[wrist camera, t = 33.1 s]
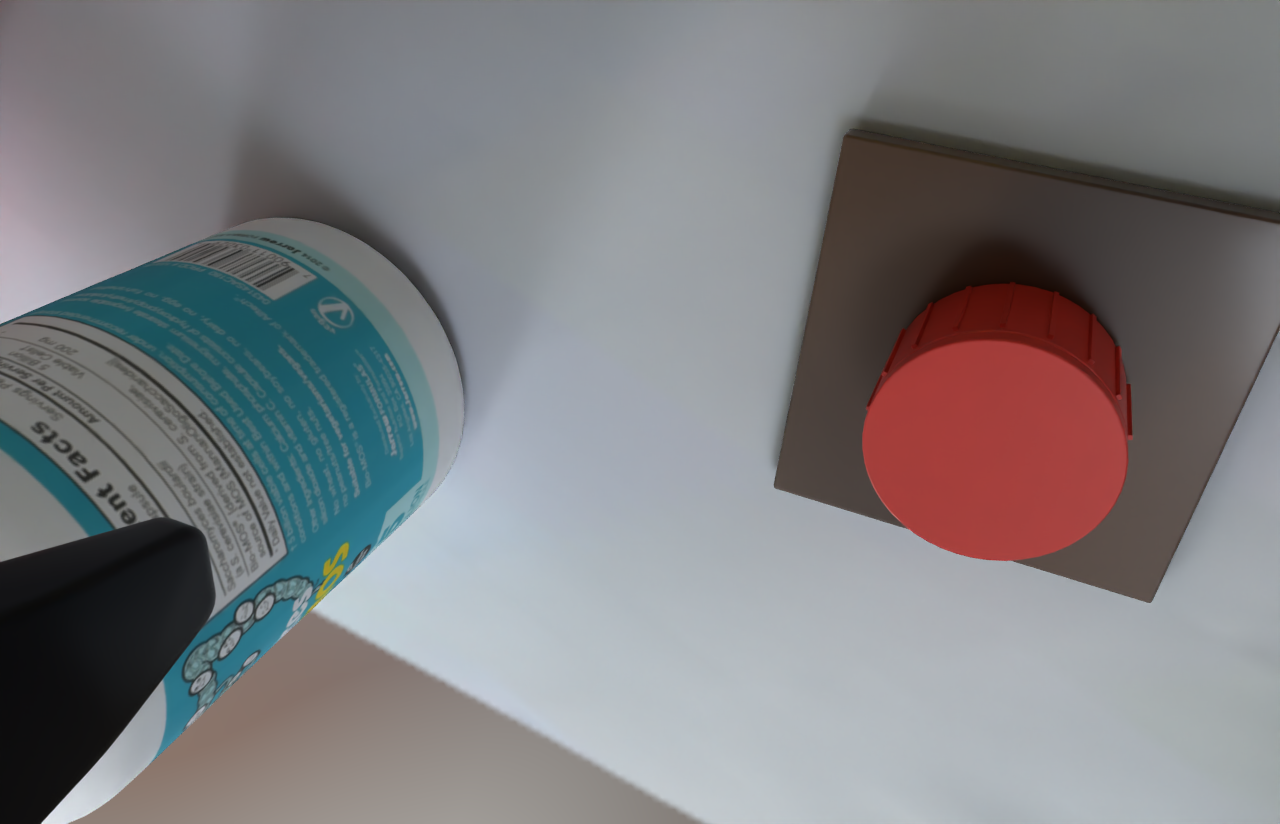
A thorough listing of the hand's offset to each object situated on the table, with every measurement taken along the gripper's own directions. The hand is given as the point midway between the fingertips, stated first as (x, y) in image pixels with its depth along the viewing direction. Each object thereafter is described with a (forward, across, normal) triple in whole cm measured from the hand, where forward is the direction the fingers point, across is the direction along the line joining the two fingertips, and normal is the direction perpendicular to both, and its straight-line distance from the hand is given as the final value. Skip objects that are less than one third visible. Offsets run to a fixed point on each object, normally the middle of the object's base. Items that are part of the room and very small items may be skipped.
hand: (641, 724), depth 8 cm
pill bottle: (+12, +12, +5) cm, 17 cm away
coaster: (+11, -2, +1) cm, 12 cm away
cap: (+9, -2, +1) cm, 9 cm away
